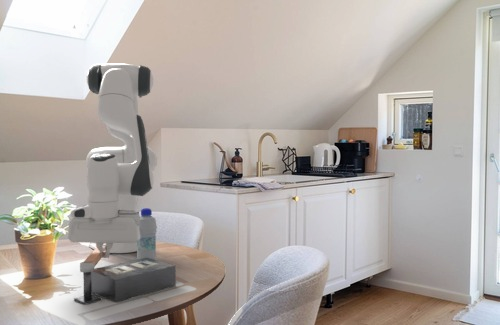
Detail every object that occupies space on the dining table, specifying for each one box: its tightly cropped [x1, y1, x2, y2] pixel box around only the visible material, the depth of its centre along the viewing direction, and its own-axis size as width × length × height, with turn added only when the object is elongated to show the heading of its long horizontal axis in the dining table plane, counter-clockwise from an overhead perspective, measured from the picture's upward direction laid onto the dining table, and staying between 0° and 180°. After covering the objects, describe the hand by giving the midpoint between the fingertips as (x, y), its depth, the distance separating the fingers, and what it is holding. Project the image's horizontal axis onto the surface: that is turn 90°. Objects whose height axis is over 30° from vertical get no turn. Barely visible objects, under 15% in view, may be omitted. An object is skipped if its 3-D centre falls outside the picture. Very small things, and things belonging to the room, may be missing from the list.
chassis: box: [91, 258, 177, 303], centre depth 147 cm, size 14×20×6 cm
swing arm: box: [79, 244, 108, 273], centre depth 147 cm, size 25×4×2 cm, turn 6°
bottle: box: [136, 207, 158, 260], centre depth 167 cm, size 7×7×20 cm
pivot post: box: [73, 272, 102, 306], centre depth 136 cm, size 5×5×8 cm
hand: (105, 257), depth 149 cm, fingers closed
